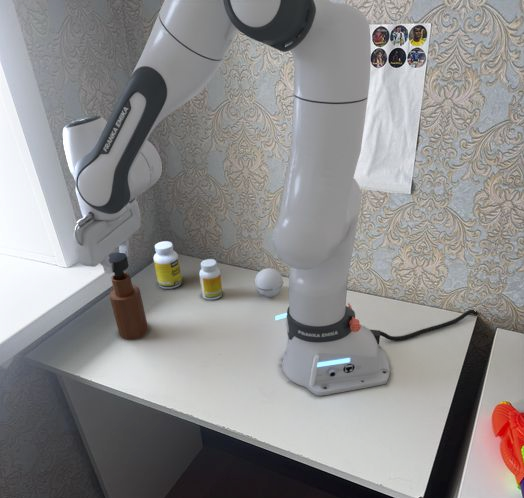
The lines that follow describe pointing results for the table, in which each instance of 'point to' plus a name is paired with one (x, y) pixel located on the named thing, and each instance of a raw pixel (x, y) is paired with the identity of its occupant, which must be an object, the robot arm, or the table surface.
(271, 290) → the white rounded piece
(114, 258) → the bung
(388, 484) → the table surface
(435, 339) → the table surface
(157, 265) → the pill bottle
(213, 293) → the supplement bottle
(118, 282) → the bottle
